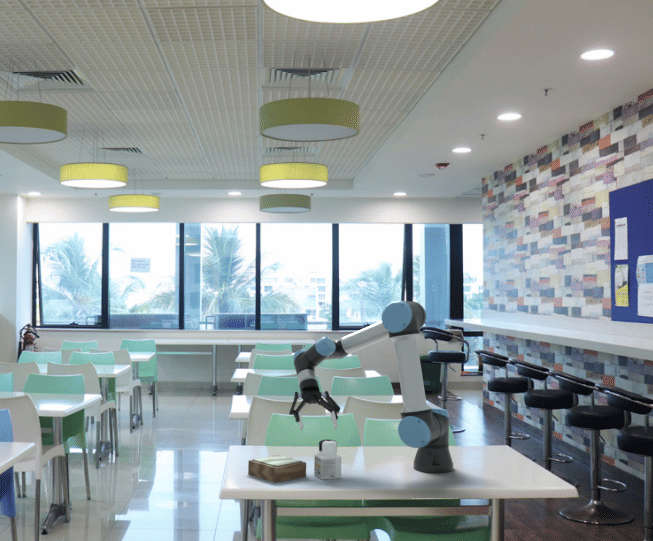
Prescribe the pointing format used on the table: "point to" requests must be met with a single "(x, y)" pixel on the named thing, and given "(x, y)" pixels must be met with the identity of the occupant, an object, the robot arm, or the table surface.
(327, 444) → the container
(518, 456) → the table surface
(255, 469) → the block
